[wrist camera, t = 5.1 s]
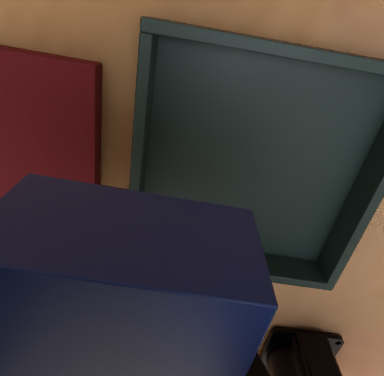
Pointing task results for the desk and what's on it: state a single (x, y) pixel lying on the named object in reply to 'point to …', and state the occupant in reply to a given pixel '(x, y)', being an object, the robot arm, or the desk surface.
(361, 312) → the desk surface
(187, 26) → the dark green tray
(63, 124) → the dark red flat slab
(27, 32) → the desk surface
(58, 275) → the blue rectangular block
